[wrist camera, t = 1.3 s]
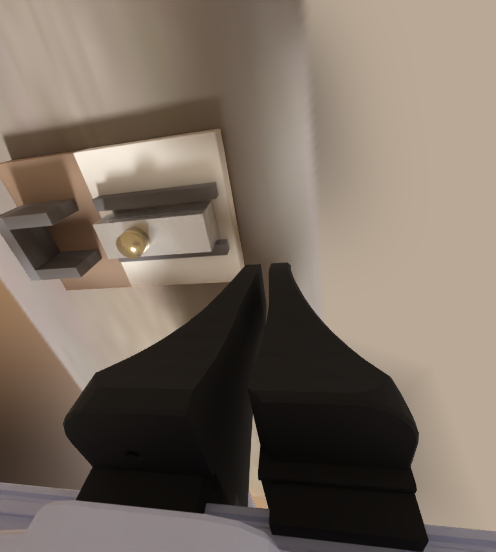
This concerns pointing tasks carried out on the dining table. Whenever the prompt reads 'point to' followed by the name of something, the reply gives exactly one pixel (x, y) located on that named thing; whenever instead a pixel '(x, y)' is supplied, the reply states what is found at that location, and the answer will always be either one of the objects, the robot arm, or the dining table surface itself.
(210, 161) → the door and jamb
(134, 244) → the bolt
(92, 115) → the dining table surface
